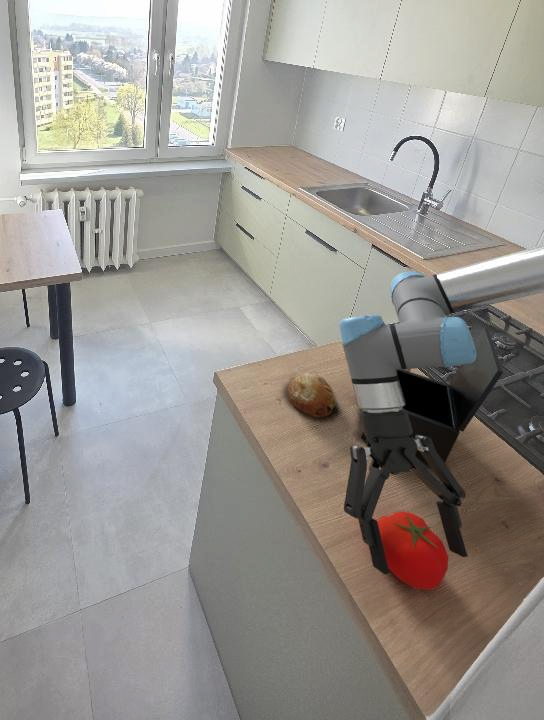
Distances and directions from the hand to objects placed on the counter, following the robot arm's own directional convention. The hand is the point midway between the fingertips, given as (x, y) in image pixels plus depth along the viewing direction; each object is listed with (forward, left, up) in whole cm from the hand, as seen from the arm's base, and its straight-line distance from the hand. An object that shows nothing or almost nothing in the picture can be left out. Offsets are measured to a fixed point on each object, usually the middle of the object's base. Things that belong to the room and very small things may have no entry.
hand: (420, 561), depth 64 cm
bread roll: (+19, -28, -5) cm, 34 cm away
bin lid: (-6, -29, +15) cm, 33 cm away
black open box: (+1, -29, -5) cm, 29 cm away
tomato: (+1, -2, -5) cm, 5 cm away
